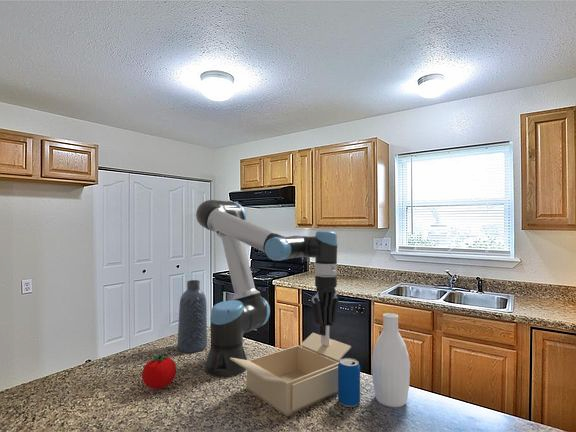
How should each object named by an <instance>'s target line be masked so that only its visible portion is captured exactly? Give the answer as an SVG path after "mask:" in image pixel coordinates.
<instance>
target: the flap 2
mask: <svg viewBox="0 0 576 432" xmlns="http://www.w3.org/2000/svg"><path fill="white" fill-rule="evenodd" d="M299 346H301V347H304V348H306V349H308V350H311V351H313V352H316V353H318V354H320V355H323V356H325V357H328V358H330V359H332V360H335V361H337V362H340V360H341V359H343V357H344V356H345V355H346V354H347V353H348V352H349V350H351V349H352V345H350V344H347V343H343V342H341V341H337V340H336V339H332V338H330V337H329V345H327V346H326V345H323V344H321V335H320V333H319V334H318V333H315V332H312V333H311V334H310V335H308V337H306V339H304V340H303V341H302V342H301V343H300V345H299Z"/></svg>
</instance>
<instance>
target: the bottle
mask: <svg viewBox="0 0 576 432" xmlns="http://www.w3.org/2000/svg"><path fill="white" fill-rule="evenodd" d="M382 316H383V320H382V321H383V323H382V324H383V325H382V331H381V333H380V335H379V336H378V338H377V339H376V340H375V341H376V342H375V344H374V348H373V350H372V351H373V352H372V357H371V374H372V384H373V391H374V397H375V399H376V401H377V402H379V404H381V405H383V406H385V407H389V408H400V407H401V408H402V407H403V406H405V405H406V403H408V396H409V390H410V381H411V380H410V377H411V375H410V374H411V363H410V356H409V352H408V347H407V345H406V343H405V340H404V339H403V337H402V335H401V333H400V332H399V315H398V314H396V313H393V312H392V313H390V312H389V313H386V312H385V313H383V314H382Z"/></svg>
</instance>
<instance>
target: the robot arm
mask: <svg viewBox="0 0 576 432" xmlns="http://www.w3.org/2000/svg"><path fill="white" fill-rule="evenodd" d="M195 217H196V220H197V223H198V224H199V225H200V226H201V227H203V229H204V228H205V229H206V230H209V231H211V232H212V233H213V232H214V233H215V232H216V236H217V237H219V238H221V241H222V245H223V250H224V254H225V255H224V256H225V258H226V263H227V267H228V271H229V276H230V280H231V284H232V288H233V292H234V296H233V297H232V299H229V300H224V301H220V302H218V303H216V304H214V305H213V306H212V308H211V311H210V312H211V313H210V319H209V320H210V348H209V351H208V354H207V358H206V361H205V363H204V365H205V366H204V368H205V369H204V370H205V372H206V373H207V374H208V375H210V376H213V377H217V378H221V377H222V378H227V377H234V376H237V375H240V374H242V373H244V372H245V371H247V369H245V368H244V367H242V366H240V365H239V364H237V363H235V362H234V361H232V360H230V357H231V358H237V359H243V360H248V359H247V355H246V352H245V349H244V344H243V343H244V341H243V340H244V334H247V333H250V331H254V330H257V329H259V328H261V327H262V326H264V325H265V324H266V323H267V322H268V320H269V318H270V314H271V307H270V303H269V302H268V300H266V298H264V297H262V295H261V292H260V291H259V290H257V289H256V286H255V282H254V278H253V274H252V271H251V265H250V263H249V258H248V254H247V250H246V247H245V245H248V246H250V247H253V248H254V249H256V250H258V251H261V252H263V253H264V254H265V255H266V256H267V258H268V259H269V260H272V261H279V262H280V261H284V260H289V259H297V258H315V259H314V260H315V261H314V263H315V266H314V267H315V270H314V274H315V276H314V282H315V283H314V286H315V287H316V289H315V294H314V296H311V297H310V299H309V300H310V301H311V305H312V309H313V315H314V316H313V317H314V321H315V324H316V325H319V332H320V333H319V335H321V344H323V345H326V346H327V345H329V338H330V334H331V326H333V325H334V323H335V321H336V317H337V311H338V305H339V301H340V299H341V294H339V293H337V292H336V288H337V286H338V280H337V279H338V277H337V274H338V273H337V269H338V267H337V266H338V265H337V263H338V244H339V243H338V234H337V233H336V232H335V231H331V230H330V231H328V230H327V231H326V230H325V231H324V230H322V231H321V230H317V231H316V232H315V236H309V235H308V236H306V235H290V236H284V235H281V234H279V233H275V232H274V231H272V230H269V229H267V228H264V227H262V226H259V225H257V224H255V223H252V222H249V221H248V220H247V212H246V210H245V209H244V207H243V206H242V205H241V204H240V203H238V202H235V201H233V200H231V201H230V200H219V199H217V200H215V199H207V200H205V201H203V202H202V203H200V204H199V205H198V207H197V210H196V213H195Z"/></svg>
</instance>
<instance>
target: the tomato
mask: <svg viewBox="0 0 576 432" xmlns="http://www.w3.org/2000/svg"><path fill="white" fill-rule="evenodd" d="M151 357H152V358H151V359H149V360H148V362H146V363H145V365H144V367H143V369H142V372H141V379H142V382H143V384H145V386H147V388H150V389H153V390H160V389H164V388H165V387H167V386H169V385H170V384H171V383H172V382H173V381H174V379H175V378H176V375H177V366H176V362H175V361H174V360H173V359H172V358H171V357H170V355H167V356H164V353H161V354H159V355H158V356H156V355H151Z"/></svg>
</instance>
